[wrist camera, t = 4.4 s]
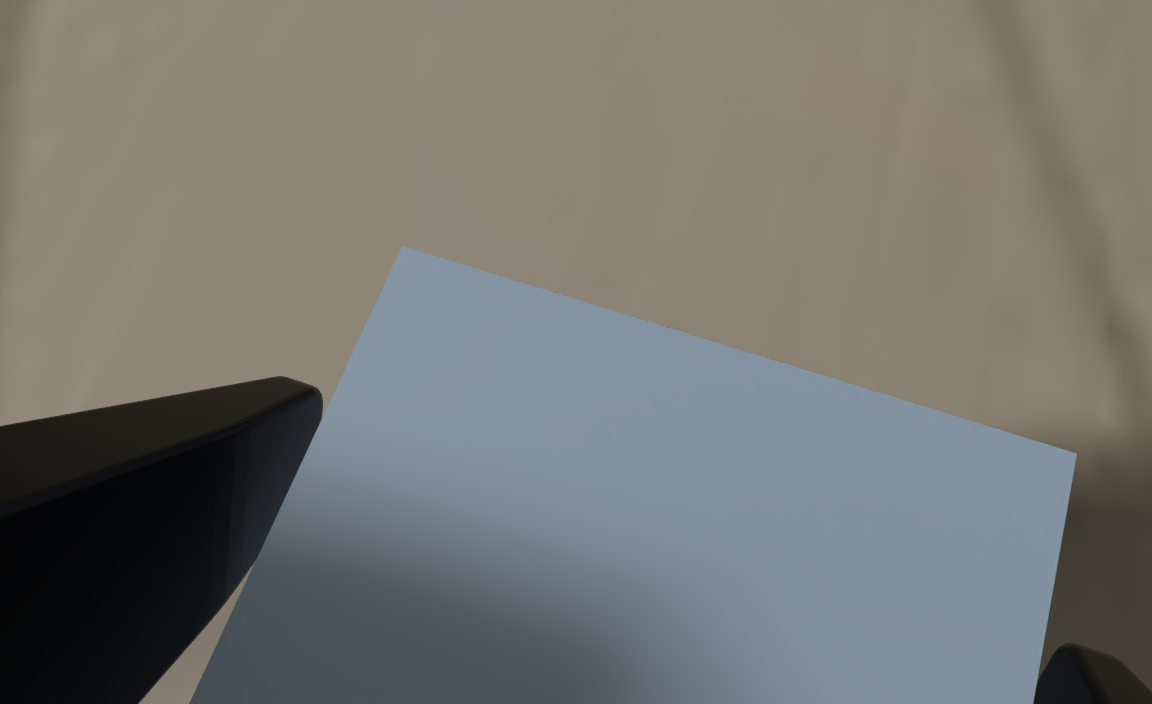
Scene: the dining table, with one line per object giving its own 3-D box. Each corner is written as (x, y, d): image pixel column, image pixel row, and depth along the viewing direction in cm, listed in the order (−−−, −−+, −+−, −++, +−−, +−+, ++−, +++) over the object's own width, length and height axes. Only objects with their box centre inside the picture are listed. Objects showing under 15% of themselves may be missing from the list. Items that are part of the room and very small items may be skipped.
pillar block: (397, 817, 14) (65, 968, 6) (517, 499, 16) (402, 246, 7) (725, 952, 13) (915, 1365, 5) (815, 603, 15) (1077, 453, 6)
